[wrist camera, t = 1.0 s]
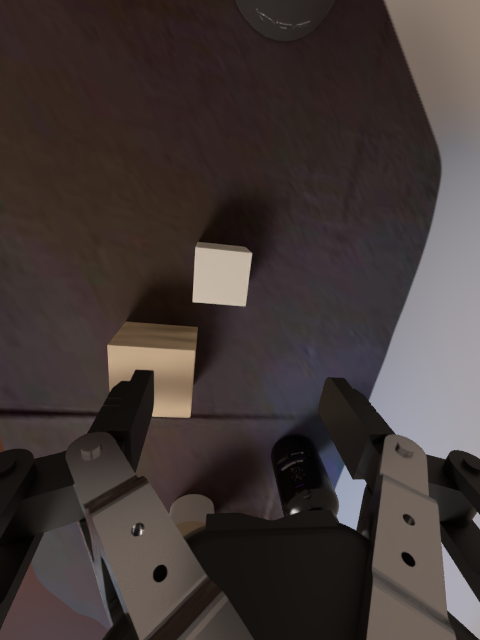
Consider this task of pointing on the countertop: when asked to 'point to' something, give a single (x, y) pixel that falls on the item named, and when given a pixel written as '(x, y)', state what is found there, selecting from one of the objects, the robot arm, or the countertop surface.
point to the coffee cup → (190, 512)
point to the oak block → (157, 362)
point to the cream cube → (221, 274)
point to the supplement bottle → (302, 477)
